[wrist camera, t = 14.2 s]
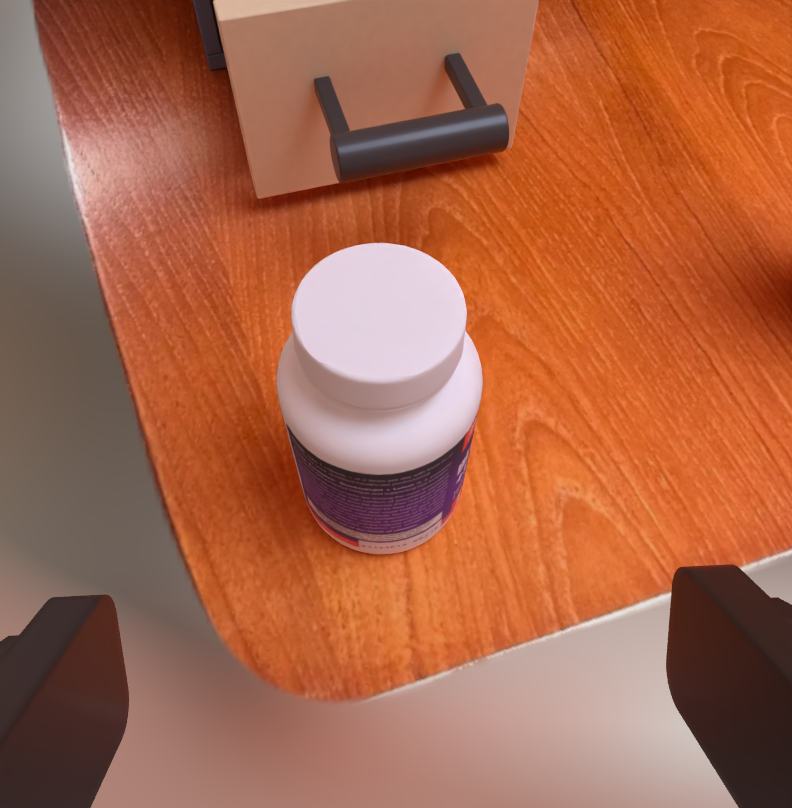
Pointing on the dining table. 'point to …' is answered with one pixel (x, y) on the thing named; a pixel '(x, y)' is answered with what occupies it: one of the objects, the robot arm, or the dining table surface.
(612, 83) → the dining table surface
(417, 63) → the drawer
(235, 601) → the dining table surface
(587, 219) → the dining table surface
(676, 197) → the dining table surface
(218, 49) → the cabinet
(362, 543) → the pill bottle
